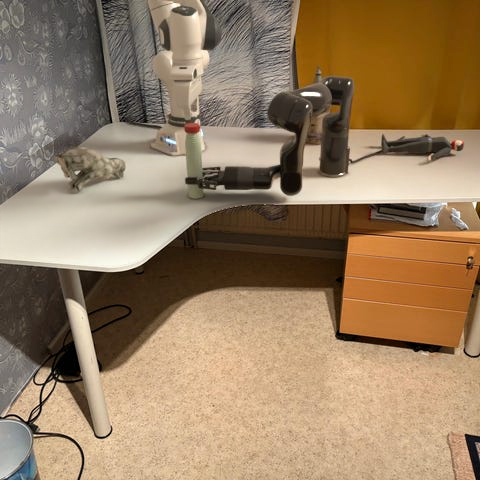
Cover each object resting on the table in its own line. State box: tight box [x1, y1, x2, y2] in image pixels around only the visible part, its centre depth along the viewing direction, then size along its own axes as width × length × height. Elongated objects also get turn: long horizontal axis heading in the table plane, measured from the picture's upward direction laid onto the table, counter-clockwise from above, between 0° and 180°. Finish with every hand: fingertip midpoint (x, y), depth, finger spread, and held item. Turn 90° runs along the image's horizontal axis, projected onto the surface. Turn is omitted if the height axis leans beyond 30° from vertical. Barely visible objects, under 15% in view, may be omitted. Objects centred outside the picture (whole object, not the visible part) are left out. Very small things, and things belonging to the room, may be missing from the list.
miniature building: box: [306, 65, 333, 145], centre depth 213 cm, size 13×14×30 cm
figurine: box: [54, 146, 127, 193], centre depth 180 cm, size 10×19×20 cm
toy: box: [380, 133, 465, 162], centre depth 205 cm, size 26×6×30 cm
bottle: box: [185, 133, 204, 200], centre depth 169 cm, size 5×5×23 cm
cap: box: [184, 123, 200, 133], centre depth 164 cm, size 5×5×2 cm
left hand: (191, 115), depth 162 cm, fingers open, 7 cm apart
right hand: (186, 177), depth 172 cm, fingers closed on bottle, 5 cm apart
